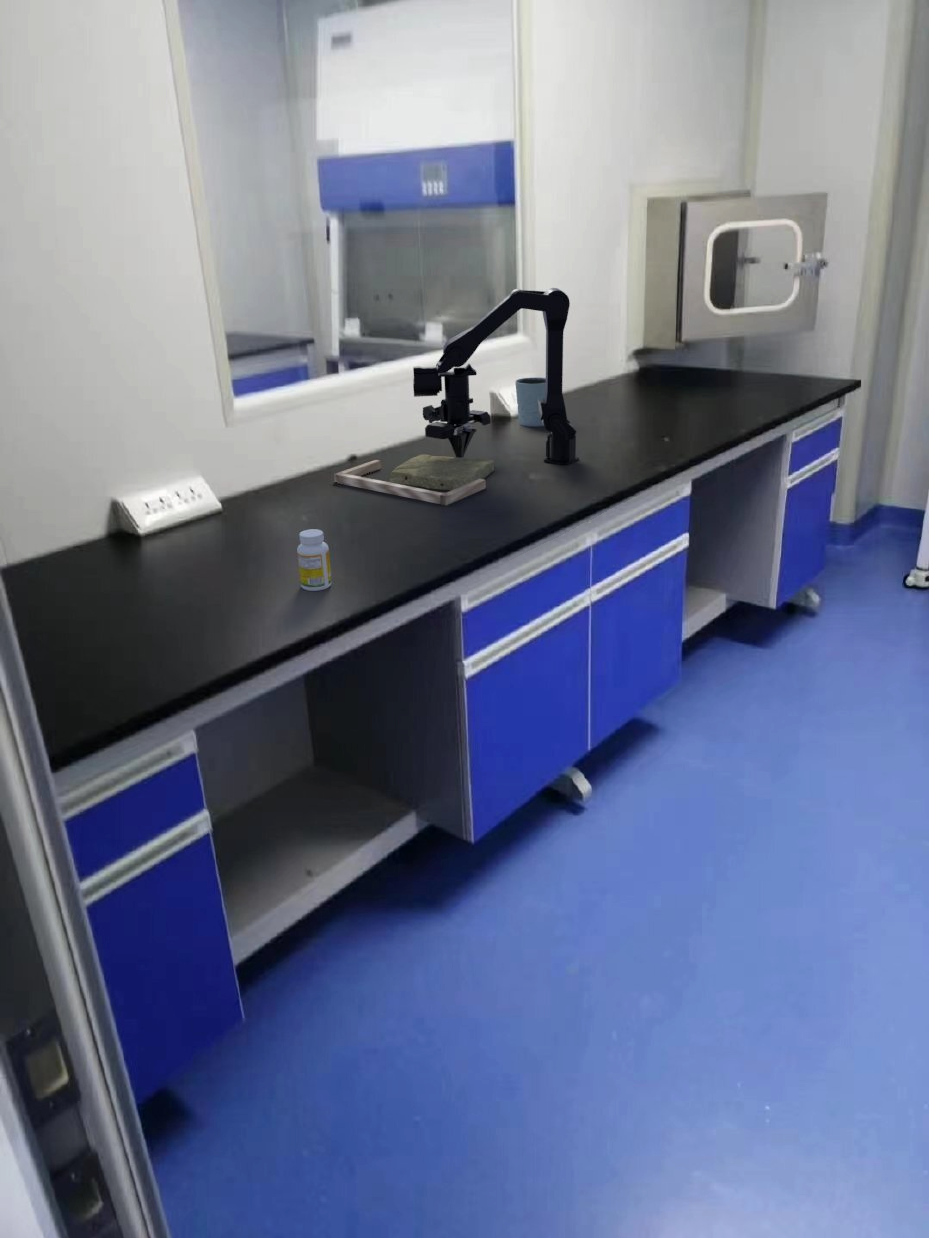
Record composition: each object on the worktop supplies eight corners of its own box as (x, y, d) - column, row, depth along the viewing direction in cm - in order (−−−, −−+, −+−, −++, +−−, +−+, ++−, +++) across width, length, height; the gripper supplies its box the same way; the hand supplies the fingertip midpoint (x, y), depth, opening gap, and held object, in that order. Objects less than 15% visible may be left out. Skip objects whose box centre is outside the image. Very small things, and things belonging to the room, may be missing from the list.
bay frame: (485, 488, 210) (485, 479, 209) (446, 505, 200) (445, 496, 199) (376, 467, 228) (375, 459, 228) (334, 482, 218) (333, 474, 217)
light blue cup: (533, 429, 259) (533, 385, 254) (508, 423, 266) (507, 380, 261) (558, 422, 265) (559, 379, 260) (533, 417, 272) (533, 375, 267)
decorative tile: (418, 466, 231) (417, 451, 229) (495, 471, 224) (494, 457, 222) (385, 487, 215) (384, 472, 214) (465, 494, 208) (465, 478, 207)
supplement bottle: (315, 594, 158) (309, 540, 154) (294, 587, 161) (288, 534, 157) (338, 584, 162) (333, 531, 158) (317, 577, 165) (312, 525, 161)
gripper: (454, 384, 232) (456, 446, 238) (405, 398, 218) (409, 464, 225) (490, 388, 225) (492, 452, 232) (442, 403, 212) (445, 470, 219)
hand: (459, 459), depth 227 cm, fingers closed
